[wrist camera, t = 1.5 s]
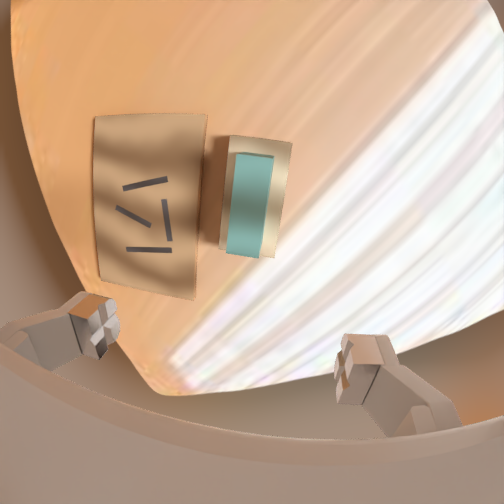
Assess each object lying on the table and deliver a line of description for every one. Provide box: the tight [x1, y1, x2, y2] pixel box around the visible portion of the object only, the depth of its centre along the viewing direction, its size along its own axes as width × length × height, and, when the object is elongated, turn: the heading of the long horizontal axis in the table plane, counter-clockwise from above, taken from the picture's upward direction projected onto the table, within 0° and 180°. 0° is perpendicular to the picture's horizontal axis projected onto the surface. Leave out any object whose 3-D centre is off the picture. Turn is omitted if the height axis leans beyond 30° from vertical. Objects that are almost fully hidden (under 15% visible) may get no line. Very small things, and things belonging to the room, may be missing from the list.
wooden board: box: [93, 113, 208, 301], centre depth 32 cm, size 22×14×1 cm, turn 173°
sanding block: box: [219, 135, 292, 258], centre depth 27 cm, size 12×6×6 cm, turn 173°
